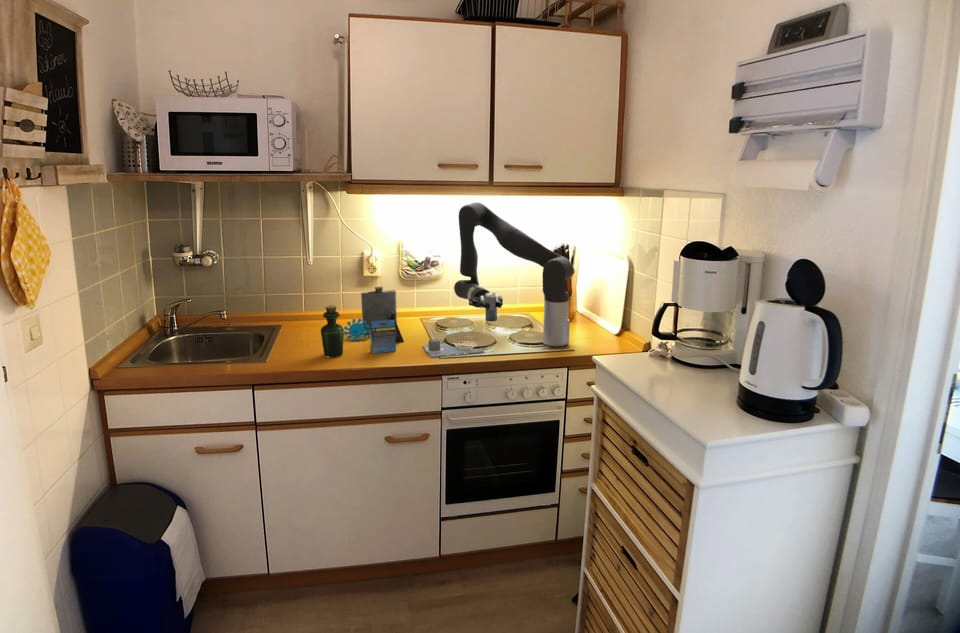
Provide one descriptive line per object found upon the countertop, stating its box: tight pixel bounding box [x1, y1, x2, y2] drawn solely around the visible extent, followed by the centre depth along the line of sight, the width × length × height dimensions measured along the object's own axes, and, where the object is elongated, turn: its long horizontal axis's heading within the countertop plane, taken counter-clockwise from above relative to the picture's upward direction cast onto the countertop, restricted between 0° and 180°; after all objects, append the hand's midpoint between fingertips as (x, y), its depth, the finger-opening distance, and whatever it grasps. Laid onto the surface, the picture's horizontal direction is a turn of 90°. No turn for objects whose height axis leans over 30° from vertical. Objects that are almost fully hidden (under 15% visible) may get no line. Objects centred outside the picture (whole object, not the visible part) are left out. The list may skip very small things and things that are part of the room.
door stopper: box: [382, 310, 405, 344], centre depth 245 cm, size 9×6×12 cm, turn 111°
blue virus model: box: [343, 318, 370, 342], centre depth 250 cm, size 11×6×10 cm
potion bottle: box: [320, 305, 345, 358], centre depth 227 cm, size 8×8×18 cm
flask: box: [360, 286, 398, 330], centre depth 260 cm, size 4×14×18 cm, turn 111°
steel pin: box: [484, 292, 498, 322], centre depth 237 cm, size 4×4×10 cm
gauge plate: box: [421, 338, 485, 359], centre depth 236 cm, size 20×14×4 cm
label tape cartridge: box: [369, 320, 397, 354], centre depth 232 cm, size 9×4×12 cm, turn 109°
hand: (493, 305), depth 234 cm, fingers closed on steel pin, 4 cm apart
